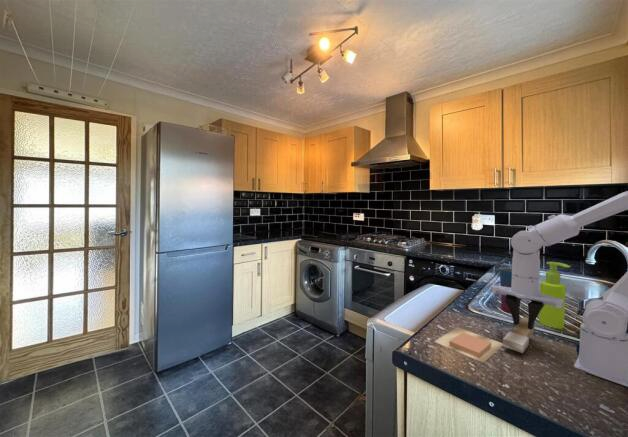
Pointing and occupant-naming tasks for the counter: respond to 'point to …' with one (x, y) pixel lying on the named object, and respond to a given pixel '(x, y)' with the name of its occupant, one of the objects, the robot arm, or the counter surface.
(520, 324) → the turner
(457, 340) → the tile
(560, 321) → the soap dispenser
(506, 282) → the cup
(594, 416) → the counter surface
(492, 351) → the cork mat
